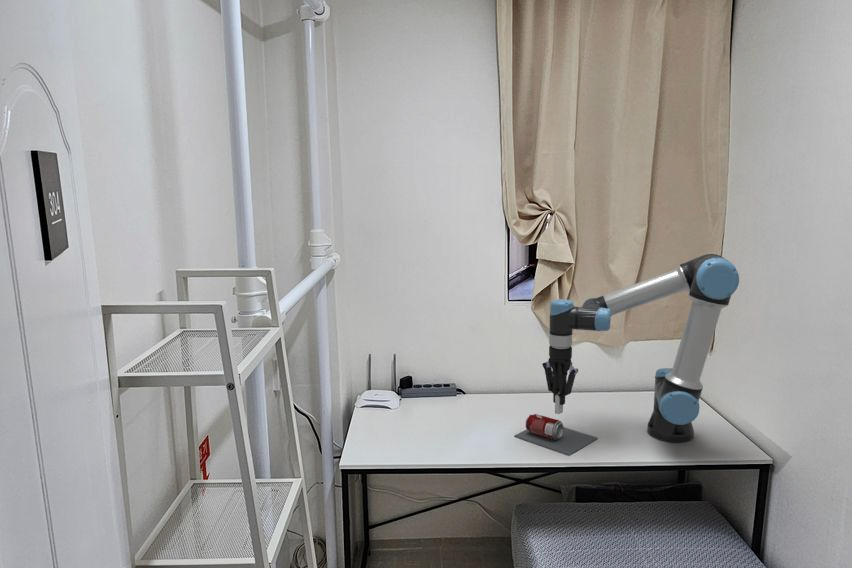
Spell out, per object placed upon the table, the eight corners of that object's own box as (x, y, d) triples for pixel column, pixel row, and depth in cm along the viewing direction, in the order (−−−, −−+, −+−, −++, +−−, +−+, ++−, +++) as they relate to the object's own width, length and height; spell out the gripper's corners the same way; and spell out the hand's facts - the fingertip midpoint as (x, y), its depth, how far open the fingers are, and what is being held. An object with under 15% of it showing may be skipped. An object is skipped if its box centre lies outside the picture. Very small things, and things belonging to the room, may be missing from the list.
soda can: (555, 424, 209) (524, 415, 217) (554, 443, 210) (524, 433, 218) (565, 419, 214) (535, 410, 222) (564, 438, 215) (534, 429, 223)
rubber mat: (597, 438, 215) (597, 437, 215) (569, 456, 202) (569, 454, 202) (543, 421, 230) (543, 420, 230) (514, 436, 217) (514, 435, 217)
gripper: (583, 347, 208) (581, 414, 212) (550, 340, 217) (548, 405, 221) (571, 351, 202) (569, 420, 206) (537, 344, 211) (536, 410, 216)
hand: (558, 412), depth 214 cm, fingers closed
